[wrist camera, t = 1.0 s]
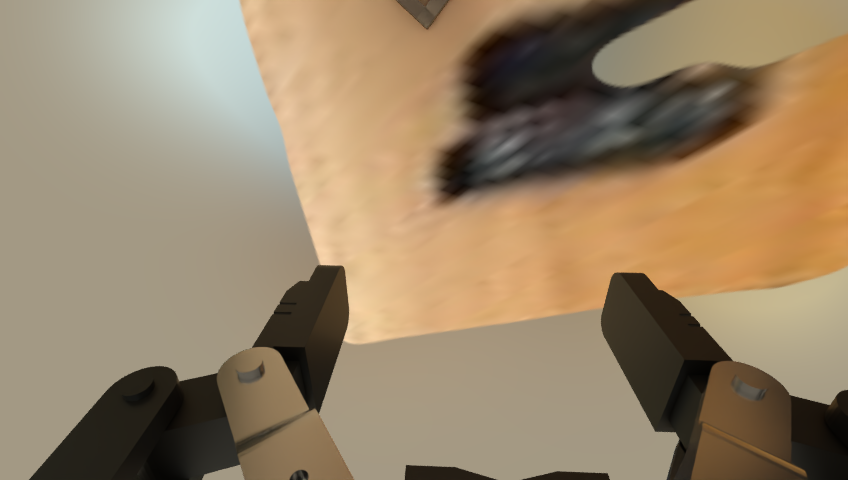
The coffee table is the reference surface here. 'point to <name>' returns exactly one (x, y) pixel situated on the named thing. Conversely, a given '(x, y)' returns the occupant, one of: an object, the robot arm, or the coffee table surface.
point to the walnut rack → (424, 10)
